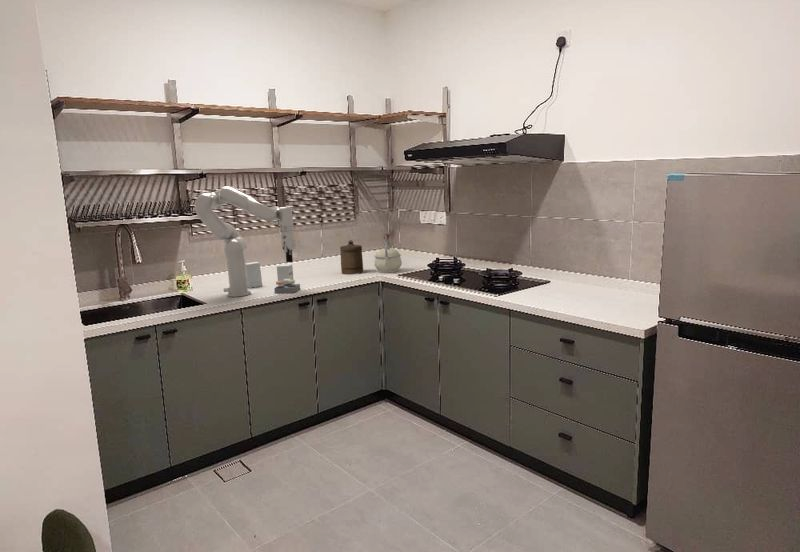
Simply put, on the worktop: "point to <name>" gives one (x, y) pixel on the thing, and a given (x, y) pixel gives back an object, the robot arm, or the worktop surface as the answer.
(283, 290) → the button panel
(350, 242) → the wooden container
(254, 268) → the skincare box
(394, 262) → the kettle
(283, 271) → the supplement box
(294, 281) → the sage button
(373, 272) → the worktop surface
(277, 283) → the terracotta button
